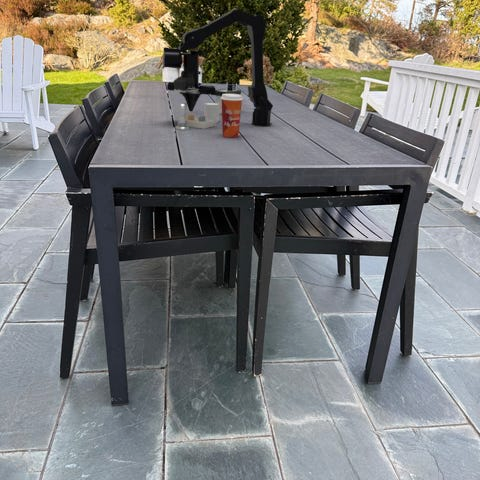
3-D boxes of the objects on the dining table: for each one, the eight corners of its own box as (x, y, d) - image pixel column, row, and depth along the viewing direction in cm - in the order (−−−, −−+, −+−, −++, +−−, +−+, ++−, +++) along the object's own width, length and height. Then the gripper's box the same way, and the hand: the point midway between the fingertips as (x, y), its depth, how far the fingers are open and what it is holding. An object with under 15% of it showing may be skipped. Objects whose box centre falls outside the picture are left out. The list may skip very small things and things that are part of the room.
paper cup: (225, 138, 151) (226, 96, 145) (216, 134, 157) (217, 93, 151) (245, 137, 155) (247, 96, 149) (235, 133, 161) (237, 93, 155)
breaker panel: (214, 125, 172) (215, 116, 170) (204, 128, 165) (204, 119, 164) (189, 121, 177) (189, 112, 175) (177, 124, 170) (177, 115, 169)
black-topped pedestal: (236, 121, 186) (237, 88, 180) (186, 113, 197) (186, 82, 191) (265, 113, 208) (268, 84, 202) (219, 107, 219) (220, 79, 214)
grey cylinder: (217, 123, 177) (218, 105, 174) (201, 122, 178) (201, 104, 175) (221, 120, 183) (222, 103, 180) (205, 119, 184) (206, 102, 181)
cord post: (191, 128, 164) (191, 103, 160) (184, 130, 160) (184, 105, 156) (180, 127, 166) (180, 102, 162) (173, 128, 162) (172, 103, 158)
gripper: (157, 67, 160) (158, 110, 167) (200, 71, 153) (200, 116, 159) (175, 66, 170) (175, 107, 176) (216, 70, 162) (215, 113, 169)
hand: (191, 111), depth 170 cm, fingers closed
